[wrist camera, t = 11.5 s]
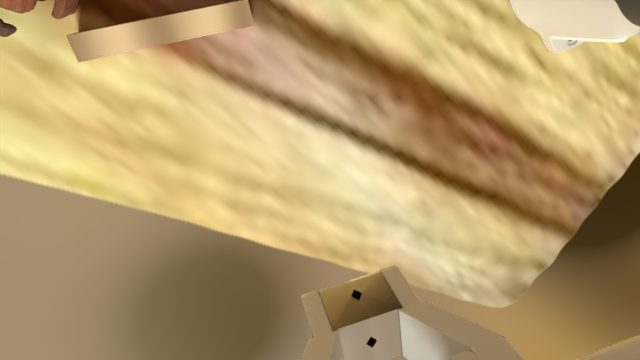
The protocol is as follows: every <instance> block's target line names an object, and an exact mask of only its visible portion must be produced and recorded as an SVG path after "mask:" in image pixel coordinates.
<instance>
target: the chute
mask: <svg viewBox="0 0 640 360" xmlns="http://www.w3.org/2000/svg"><path fill="white" fill-rule="evenodd" d="M249 26H254V23H253V19H252V15H251V11H250V6H249V2H248V0H238V1H233V2H228V3H223V4H218V5H213V6H208V7H203V8H198V9H193V10H188V11H183V12H178V13H173V14H168V15H163V16H157V17H152V18H147V19H142V20H137V21H132V22H127V23H122V24H117V25H112V26H107V27H102V28H97V29H92V30H87V31H82V32H77V33H74V34H70V35H66V36H67V38H68V41H69V43H70V45H71V47H72V49H73V51H74V54H75V56H76V58H77V60H78V62H82V61H87V60H92V59H97V58H101V57H106V56H111V55H116V54H121V53H125V52H130V51H135V50H140V49H144V48H149V47H154V46H159V45H164V44H168V43H173V42H178V41H183V40H187V39H192V38H197V37H202V36H207V35H211V34H216V33H221V32H226V31H230V30H235V29H240V28H245V27H249Z"/></svg>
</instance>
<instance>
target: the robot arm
mask: <svg viewBox="0 0 640 360" xmlns="http://www.w3.org/2000/svg"><path fill="white" fill-rule="evenodd" d="M510 3H511V6H512V8H513V10H514V12H515V14H516V15H517V17H518V18H519V19H520V20H521V22H522V23H524V24H525V25H526V26H527V27H529V28H530V29H532V30H534V31H535V32H537V33H538V34H539V35H540V36H541V38H542V40H543V42H544V44H545V46H546V47H547V49H548V50H549V51H550V52H553V53H562V52H565V51H567V50H569V49H571V48H573V47H575V46H577V45H580V44H582V43H584V42H586V41H597V42H623V41H625V40H626V39H627V38H628V37H631V36H634V35H636V34H638V33H640V0H510ZM301 296H302V301H303V305H304V309H305V313H306V316H307V320H308V324H309V328H310V332H311V336H312V339H310V340H308V343H307V346H306V348H305V351H304V354H303V356H302V359H301V360H387V359H390V358H393V357H396V356H400V355H403V356H404V357H405V358H407V359H408V360H523V358H522V357H521V356H520V355H519V354H518V353H517V351H515V349H514V348H513V347H512V346H511V344H510V343H509V342H508V341H507V340H506V338H505V337H504V336H502V335H500V334H498V333H496V332H493V331H491V330H489V329H487V328H485V327H483V326H480V325H478V324H476V323H474V322H472V321H469V320H467V319H465V318H463V317H460V316H459V315H456V314H454V313H452V312H450V311H447V310H445V309H443V308H441V307H439V306H437V305H434V304H432V303H430V302H428V301H423V302H421V301H420V300H419V298H418V297H417V295H416V294H415V292H414V291H413V289H412V288H411V286H410V285H409V284H408V282H407V281H406V279H405V278H404V276H403V275H402V273H401V272H400V271H399V269H398V268H397V267H396V266H391V267H388V268H385V269H382V270H379V271H376V272H373V273H370V274H367V275H364V276H361V277H359V278H355V279H352V280H349V281H347V282H343V283H339V284H336V285H333V286H329V287H326V288H322V289H319V290H318V291H313V292H310V293H307V294H303V295H301ZM575 360H640V335H637V336H635V337H632V338H630V339H627V340H624V341H622V342H619V343H616V344H614V345H611V346H609V347H606V348H603V349H601V350H598V351H596V352H593V353H590V354H588V355H585V356H583V357H580V358H577V359H575Z"/></svg>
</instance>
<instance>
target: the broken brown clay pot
mask: <svg viewBox="0 0 640 360" xmlns="http://www.w3.org/2000/svg"><path fill="white" fill-rule="evenodd" d="M39 1H45V0H39ZM36 2H37V0H0V7H2V8H5V9H7V10H11V11H14V12H17V13H21V14H22V13H24V12H29V11H31V10H33V9H34V7H35V5H36ZM78 2H79V0H55V4H54V8H53V11H52V16H53V17H54V18H56V19H61V18H64V17H66V16H68V15H71V14H73V13H75V11H76V9H77V7H78ZM16 30H17V28H16V27H15V26H13V25H11V24H8V23H4V22H3V20H2V19H0V36H2V37H7V36H9V35H11V34H13V33H15V32H16Z"/></svg>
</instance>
